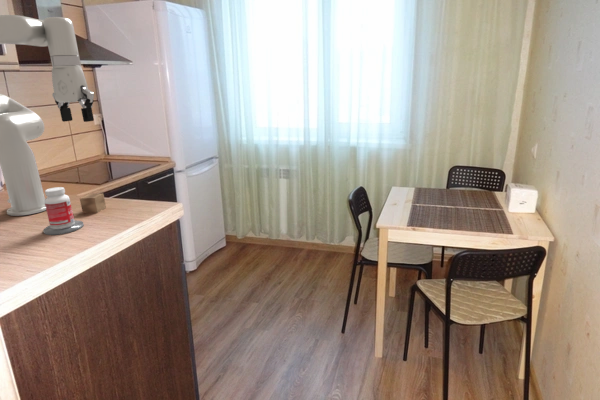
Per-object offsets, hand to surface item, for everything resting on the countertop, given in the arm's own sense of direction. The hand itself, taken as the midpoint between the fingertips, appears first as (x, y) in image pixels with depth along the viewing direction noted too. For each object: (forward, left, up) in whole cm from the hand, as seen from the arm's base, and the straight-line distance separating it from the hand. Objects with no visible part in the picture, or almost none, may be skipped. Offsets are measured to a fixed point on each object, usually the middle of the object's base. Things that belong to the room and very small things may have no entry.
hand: (78, 121), depth 125 cm
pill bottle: (+8, -17, -28) cm, 34 cm away
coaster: (+8, -17, -28) cm, 34 cm away
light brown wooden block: (+2, -2, -28) cm, 29 cm away
